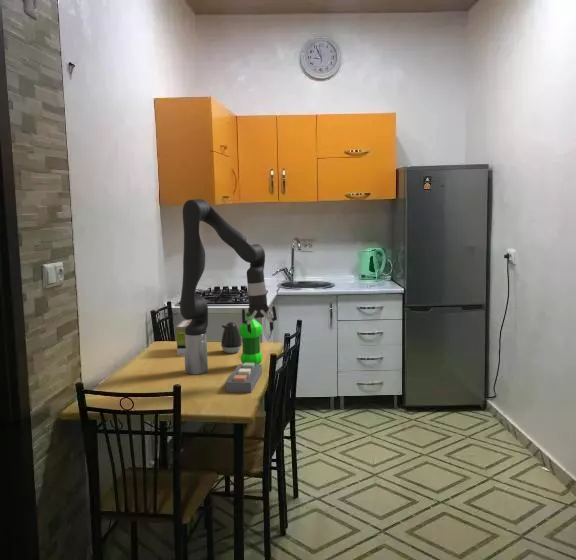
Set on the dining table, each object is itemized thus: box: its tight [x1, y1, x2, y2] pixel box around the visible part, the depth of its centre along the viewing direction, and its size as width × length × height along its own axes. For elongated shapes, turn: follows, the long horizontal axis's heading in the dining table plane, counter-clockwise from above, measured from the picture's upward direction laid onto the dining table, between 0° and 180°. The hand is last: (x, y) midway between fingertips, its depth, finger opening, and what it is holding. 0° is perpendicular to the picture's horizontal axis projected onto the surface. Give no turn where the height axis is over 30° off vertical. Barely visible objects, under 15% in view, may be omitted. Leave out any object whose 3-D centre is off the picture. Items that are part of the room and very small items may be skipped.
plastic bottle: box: [238, 311, 263, 364], centre depth 271 cm, size 10×10×25 cm
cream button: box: [238, 368, 251, 375], centre depth 248 cm, size 4×4×3 cm
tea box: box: [175, 319, 192, 357], centre depth 300 cm, size 15×10×15 cm, turn 178°
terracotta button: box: [234, 375, 247, 382], centre depth 239 cm, size 4×4×3 cm
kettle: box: [220, 321, 242, 354], centre depth 297 cm, size 10×10×15 cm
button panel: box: [225, 363, 263, 394], centre depth 249 cm, size 10×26×4 cm, turn 173°
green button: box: [242, 363, 255, 369], centre depth 257 cm, size 4×4×3 cm
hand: (260, 332), depth 249 cm, fingers open, 8 cm apart
